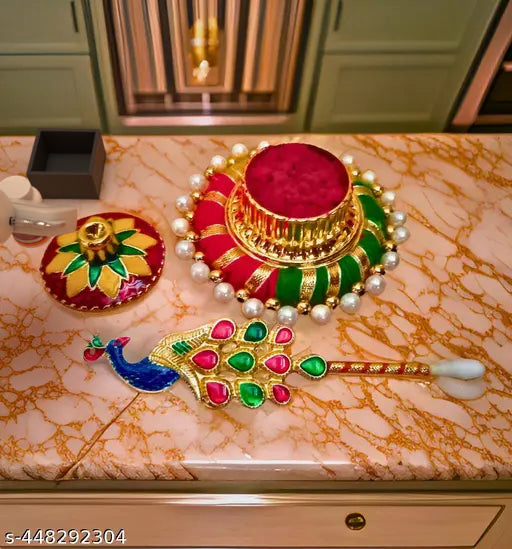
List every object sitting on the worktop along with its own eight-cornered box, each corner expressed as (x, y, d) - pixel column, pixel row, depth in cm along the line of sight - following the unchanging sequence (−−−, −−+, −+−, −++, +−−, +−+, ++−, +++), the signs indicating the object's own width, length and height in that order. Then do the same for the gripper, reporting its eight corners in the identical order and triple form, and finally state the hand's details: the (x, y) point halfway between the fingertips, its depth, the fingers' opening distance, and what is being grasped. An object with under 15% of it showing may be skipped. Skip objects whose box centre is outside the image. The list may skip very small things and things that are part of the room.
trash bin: (36, 198, 117) (25, 174, 111) (47, 153, 124) (37, 127, 118) (99, 199, 118) (91, 175, 111) (106, 154, 124) (100, 128, 118)
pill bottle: (58, 242, 91) (39, 197, 82) (18, 254, 89) (-6, 209, 80) (50, 213, 94) (31, 166, 85) (11, 224, 92) (-13, 178, 83)
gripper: (57, 203, 72) (93, 194, 86) (-102, 181, 73) (-40, 177, 86) (54, 252, 74) (91, 236, 87) (-101, 231, 74) (-41, 218, 88)
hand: (24, 206), depth 87 cm, fingers closed on pill bottle, 6 cm apart
